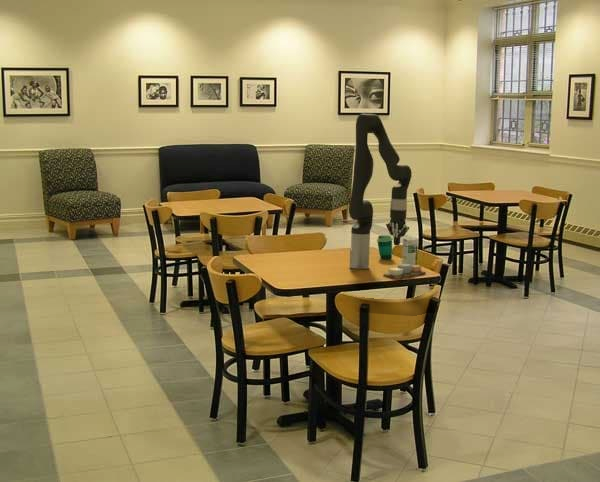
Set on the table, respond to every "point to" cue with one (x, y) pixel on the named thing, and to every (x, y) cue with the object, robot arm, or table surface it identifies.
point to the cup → (385, 247)
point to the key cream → (395, 271)
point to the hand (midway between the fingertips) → (396, 244)
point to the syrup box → (410, 251)
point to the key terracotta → (415, 268)
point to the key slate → (405, 268)
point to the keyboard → (405, 275)
